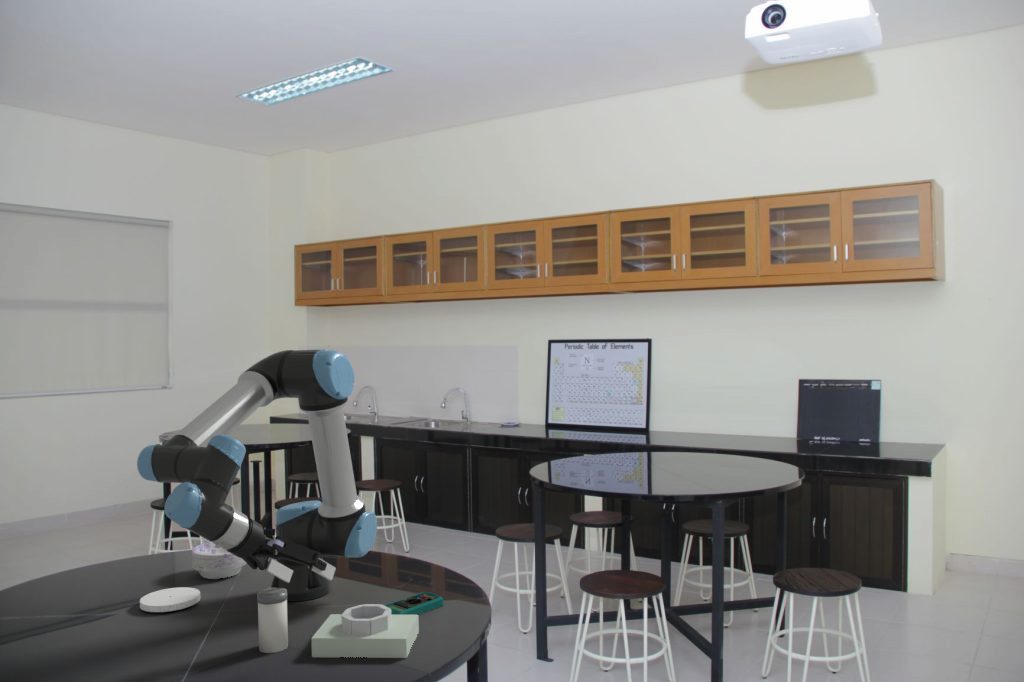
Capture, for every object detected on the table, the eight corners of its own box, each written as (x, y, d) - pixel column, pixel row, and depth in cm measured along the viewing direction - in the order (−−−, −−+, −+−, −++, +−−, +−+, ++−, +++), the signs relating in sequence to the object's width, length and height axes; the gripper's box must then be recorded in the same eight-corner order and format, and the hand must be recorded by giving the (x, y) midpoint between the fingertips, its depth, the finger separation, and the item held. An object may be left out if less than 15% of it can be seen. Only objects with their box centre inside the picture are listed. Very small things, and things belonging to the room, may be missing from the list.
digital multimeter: (445, 607, 198) (445, 595, 198) (399, 624, 187) (399, 611, 187) (425, 600, 203) (425, 589, 203) (379, 617, 192) (378, 605, 192)
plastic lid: (176, 593, 212) (176, 584, 212) (212, 602, 205) (212, 592, 205) (127, 610, 200) (127, 600, 200) (163, 620, 193) (163, 609, 193)
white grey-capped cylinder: (264, 641, 177) (263, 587, 177) (292, 641, 177) (291, 587, 177) (254, 653, 171) (252, 597, 171) (282, 653, 171) (281, 597, 170)
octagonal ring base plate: (331, 631, 182) (330, 601, 182) (418, 632, 181) (418, 601, 181) (311, 657, 168) (311, 623, 168) (406, 658, 167) (405, 624, 167)
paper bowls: (238, 582, 219) (237, 553, 219) (182, 583, 219) (181, 554, 219) (256, 566, 234) (255, 538, 234) (204, 566, 235) (203, 539, 235)
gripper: (191, 554, 166) (267, 594, 179) (270, 547, 153) (345, 590, 165) (206, 520, 171) (279, 561, 183) (284, 510, 157) (357, 555, 170)
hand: (311, 575), depth 174 cm, fingers open, 13 cm apart
